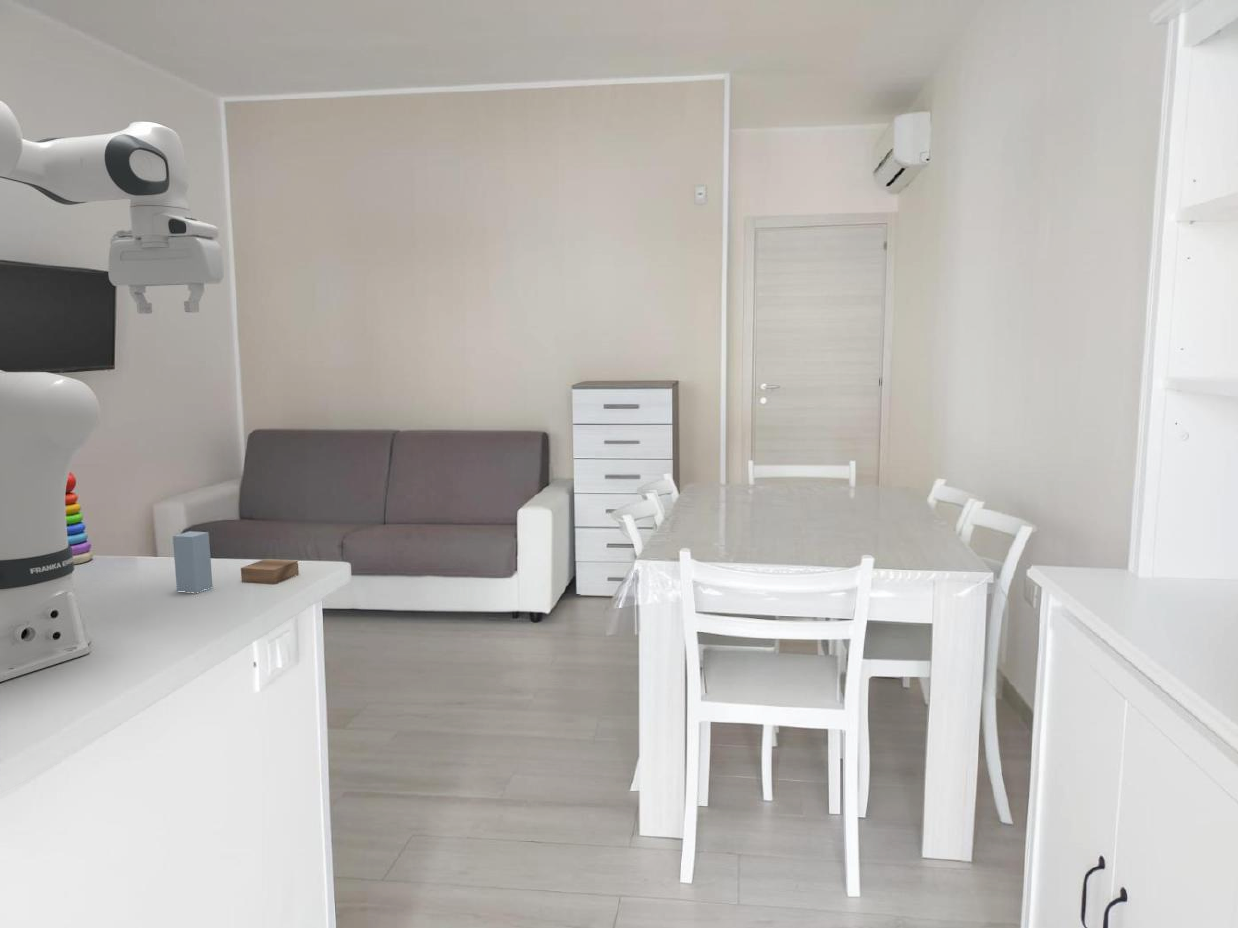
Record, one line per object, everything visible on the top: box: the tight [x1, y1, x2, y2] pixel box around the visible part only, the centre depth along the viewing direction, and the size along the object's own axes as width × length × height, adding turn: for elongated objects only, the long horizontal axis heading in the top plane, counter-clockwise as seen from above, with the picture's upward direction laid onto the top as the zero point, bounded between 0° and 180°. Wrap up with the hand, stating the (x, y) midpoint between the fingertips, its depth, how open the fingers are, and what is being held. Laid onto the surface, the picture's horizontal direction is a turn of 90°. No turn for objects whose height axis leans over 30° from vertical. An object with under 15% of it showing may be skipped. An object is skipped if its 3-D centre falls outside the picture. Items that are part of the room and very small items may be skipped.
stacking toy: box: [65, 471, 94, 565], centre depth 176 cm, size 8×8×19 cm
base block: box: [240, 558, 300, 585], centre depth 163 cm, size 7×7×3 cm
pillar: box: [172, 530, 213, 594], centre depth 155 cm, size 4×4×10 cm
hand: (168, 313), depth 148 cm, fingers open, 8 cm apart
